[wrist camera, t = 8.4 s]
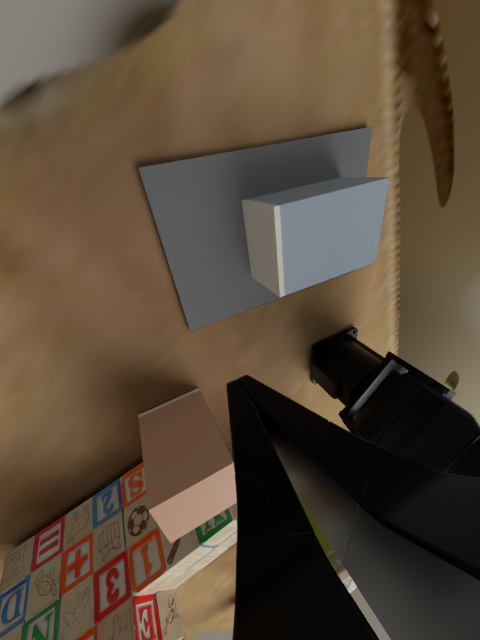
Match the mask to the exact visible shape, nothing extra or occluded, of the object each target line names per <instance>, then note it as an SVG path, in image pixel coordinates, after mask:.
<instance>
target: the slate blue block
mask: <svg viewBox="0 0 480 640" xmlns="http://www.w3.org/2000/svg"><path fill="white" fill-rule="evenodd" d="M388 183H389V178H382V177H339V178H335V179H331V180H326V181H322V182H318V183H314V184H309V185H305V186H301V187H297V188H293V189H288V190H284V191H280V192H276V193H271V194H267V195H263V196H259V197H254V198H250V199H246V200H242V208H243V215H244V223H245V230H246V238H247V246H248V253H249V261H250V268H251V276H252V278H254V279H255V280H256V281H258V282H259V283H261V284H262V285H263V286H265V287H266V288H268V289H269V290H270V291H272V292H273V293H274V294H276V295H277V296H279V297H283V296H285V295H288V294H291V293H293V292H296V291H299V290H302V289H304V288H307V287H310V286H312V285H315V284H318V283H321V282H323V281H326V280H329V279H331V278H334V277H337V276H340V275H342V274H345V273H348V272H350V271H353V270H356V269H359V268H361V267H364V266H367V265H369V264H372V263H375V262H376V259H377V253H378V246H379V240H380V234H381V227H382V221H383V215H384V208H385V202H386V195H387V189H388Z"/></svg>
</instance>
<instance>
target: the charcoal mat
mask: <svg viewBox="0 0 480 640" xmlns="http://www.w3.org/2000/svg"><path fill="white" fill-rule="evenodd" d="M371 128H372V127H368V128H362V129H357V130H351V131H345V132H340V133H334V134H328V135H322V136H317V137H311V138H305V139H300V140H294V141H288V142H282V143H277V144H271V145H265V146H260V147H254V148H248V149H243V150H237V151H231V152H225V153H220V154H214V155H208V156H203V157H197V158H191V159H185V160H180V161H174V162H168V163H163V164H157V165H151V166H146V167H140V168H138V170H139V174H140V177H141V180H142V183H143V186H144V189H145V192H146V195H147V199H148V202H149V205H150V208H151V211H152V214H153V217H154V221H155V224H156V227H157V230H158V233H159V236H160V239H161V243H162V246H163V249H164V252H165V255H166V258H167V261H168V265H169V268H170V271H171V274H172V277H173V280H174V283H175V286H176V290H177V293H178V296H179V299H180V302H181V305H182V308H183V312H184V315H185V318H186V321H187V324H188V327H189V330H190V331H192V330H195V329H198V328H201V327H203V326H206V325H209V324H211V323H214V322H217V321H220V320H222V319H225V318H228V317H230V316H233V315H236V314H239V313H241V312H244V311H247V310H249V309H252V308H255V307H258V306H260V305H263V304H266V303H268V302H271V301H274V300H276V299H279V298H282V297H279V296H277V295H276V294H274V293H273V292H272V291H270V290H269V289H268V288H266V287H265V286H263V285H262V284H261V283H259V282H258V281H256V280H255V279H254V278H252V276H251V268H250V261H249V253H248V246H247V238H246V230H245V223H244V215H243V208H242V200H246V199H250V198H254V197H259V196H263V195H267V194H271V193H276V192H280V191H284V190H288V189H293V188H297V187H301V186H305V185H309V184H314V183H318V182H322V181H326V180H331V179H335V178H339V177H366V172H367V164H368V155H369V146H370V137H371ZM353 271H355V270H353ZM350 272H352V271H350ZM350 272H348V273H350ZM345 274H347V273H345ZM342 275H344V274H342ZM342 275H340V276H342ZM337 277H339V276H337ZM334 278H336V277H334ZM331 279H333V278H331ZM331 279H329V280H331ZM326 281H328V280H326ZM323 282H325V281H323ZM323 282H321V283H323ZM318 284H320V283H318ZM315 285H317V284H315ZM312 286H314V285H312ZM312 286H310V287H312ZM307 288H309V287H307ZM304 289H306V288H304ZM304 289H302V290H304ZM299 291H301V290H299ZM296 292H298V291H296ZM293 293H295V292H293ZM293 293H291V294H293ZM288 295H290V294H288ZM285 296H287V295H285ZM285 296H283V297H285Z"/></svg>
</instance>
